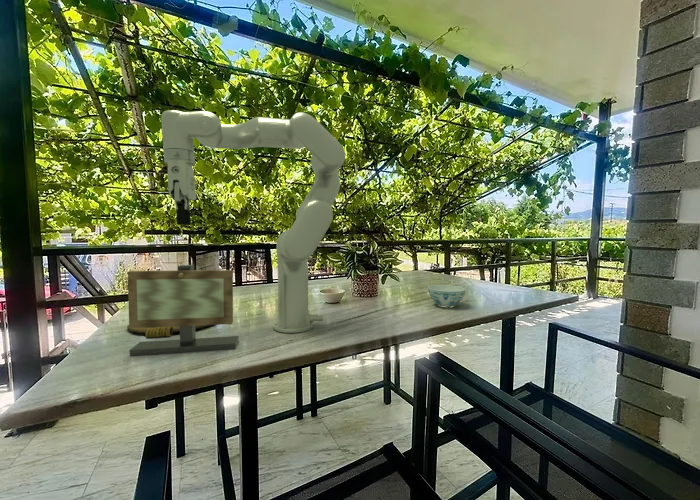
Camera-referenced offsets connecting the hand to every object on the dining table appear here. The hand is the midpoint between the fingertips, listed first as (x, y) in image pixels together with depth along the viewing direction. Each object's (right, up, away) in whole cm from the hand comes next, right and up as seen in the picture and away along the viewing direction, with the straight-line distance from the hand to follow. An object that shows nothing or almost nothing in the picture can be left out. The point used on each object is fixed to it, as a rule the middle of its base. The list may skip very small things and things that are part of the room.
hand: (184, 224), depth 89 cm
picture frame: (+4, -26, -8) cm, 28 cm away
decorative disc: (-11, -33, +17) cm, 38 cm away
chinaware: (+87, -31, +42) cm, 101 cm away
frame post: (+4, -33, -5) cm, 34 cm away
